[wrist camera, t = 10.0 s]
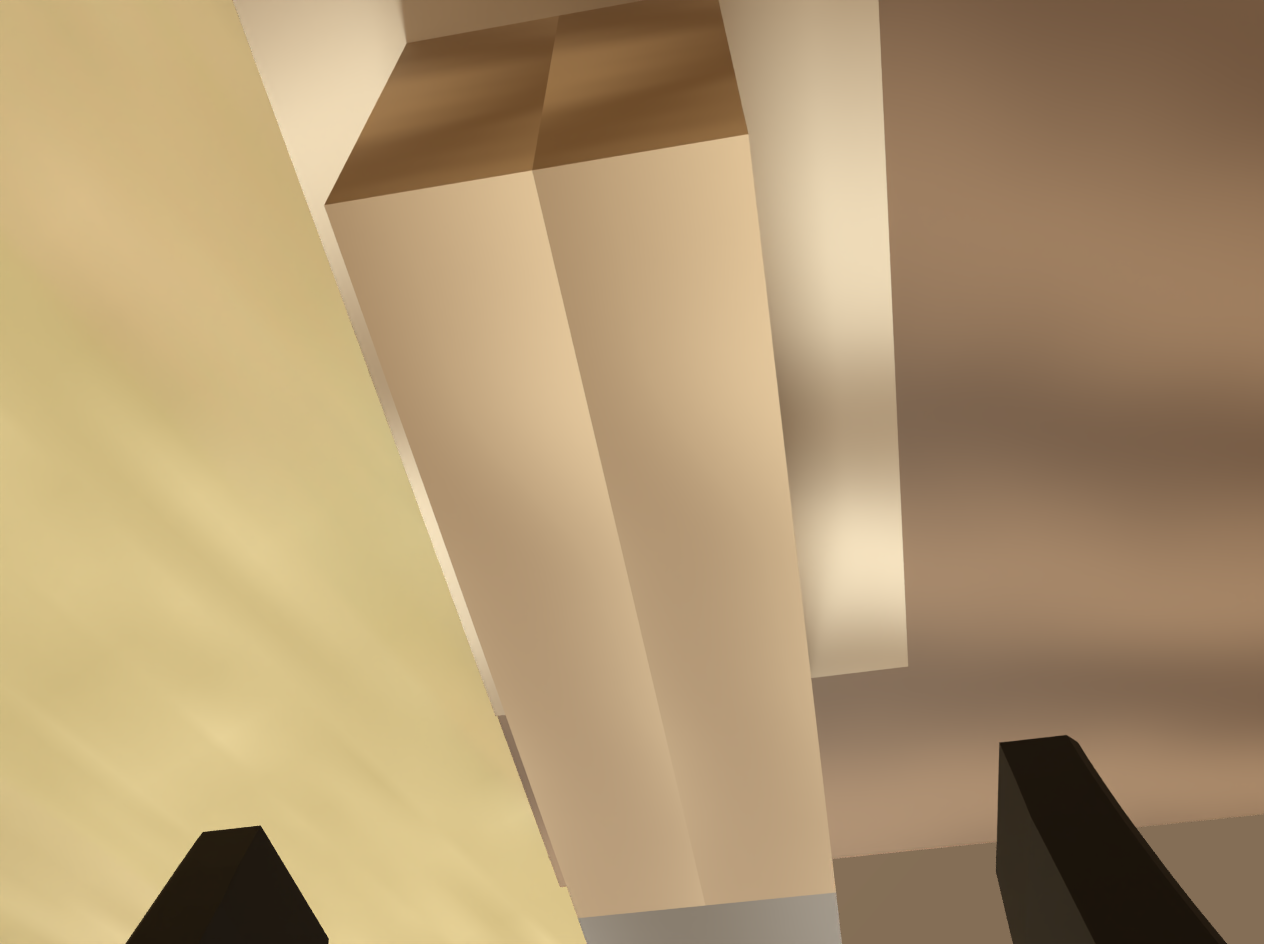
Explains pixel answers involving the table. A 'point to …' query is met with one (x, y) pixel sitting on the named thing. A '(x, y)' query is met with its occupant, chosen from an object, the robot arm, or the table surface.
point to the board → (966, 374)
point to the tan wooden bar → (607, 450)
